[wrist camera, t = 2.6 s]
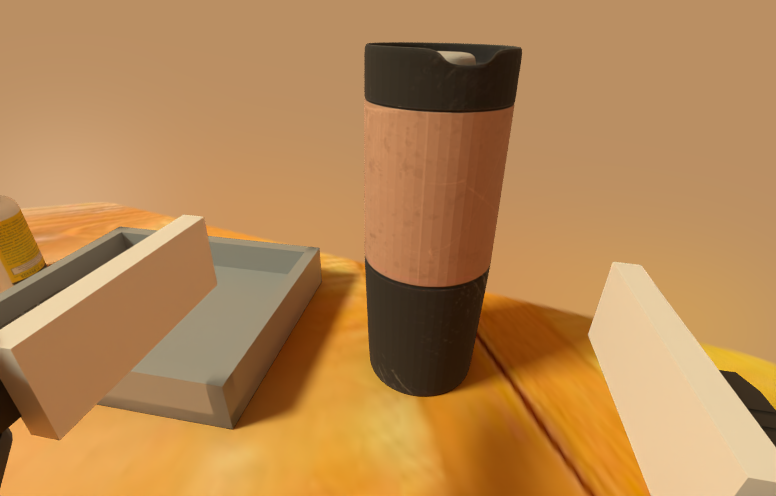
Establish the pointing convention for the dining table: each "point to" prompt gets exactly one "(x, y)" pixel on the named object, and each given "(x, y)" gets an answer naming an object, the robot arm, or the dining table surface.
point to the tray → (199, 325)
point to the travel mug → (432, 202)
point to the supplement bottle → (16, 246)
